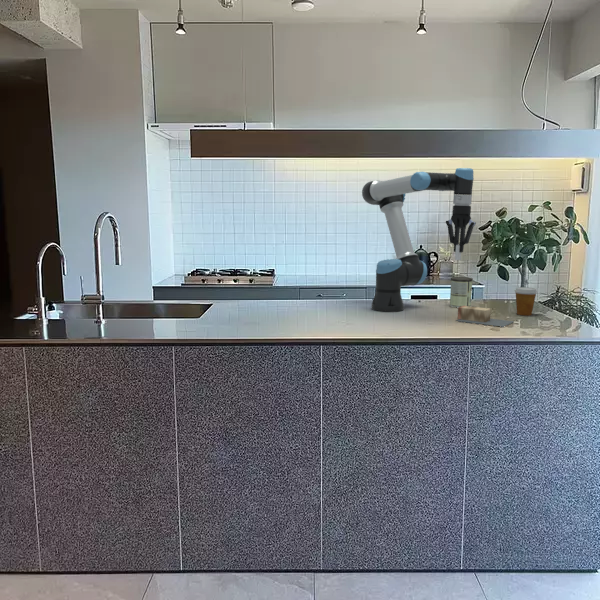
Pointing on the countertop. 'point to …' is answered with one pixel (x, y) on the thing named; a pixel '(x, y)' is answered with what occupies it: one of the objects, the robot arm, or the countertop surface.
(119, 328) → the countertop surface
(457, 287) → the lidded glass jar
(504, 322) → the mat
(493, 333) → the countertop surface
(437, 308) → the countertop surface
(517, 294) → the disposable coffee cup
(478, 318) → the oak block
